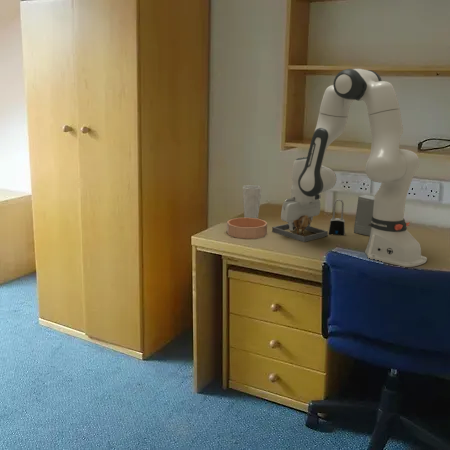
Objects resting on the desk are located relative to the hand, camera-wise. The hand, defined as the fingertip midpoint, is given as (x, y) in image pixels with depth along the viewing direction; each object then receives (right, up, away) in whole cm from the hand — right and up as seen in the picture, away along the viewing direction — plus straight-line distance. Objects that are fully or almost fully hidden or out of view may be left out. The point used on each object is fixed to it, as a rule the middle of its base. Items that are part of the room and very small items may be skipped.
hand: (299, 228), depth 242 cm
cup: (-19, +3, +20) cm, 28 cm away
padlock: (+16, -2, +2) cm, 16 cm away
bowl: (-22, -2, 0) cm, 22 cm away
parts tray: (0, -2, +1) cm, 2 cm away
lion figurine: (0, -2, +2) cm, 3 cm away
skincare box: (+29, -2, +4) cm, 29 cm away
